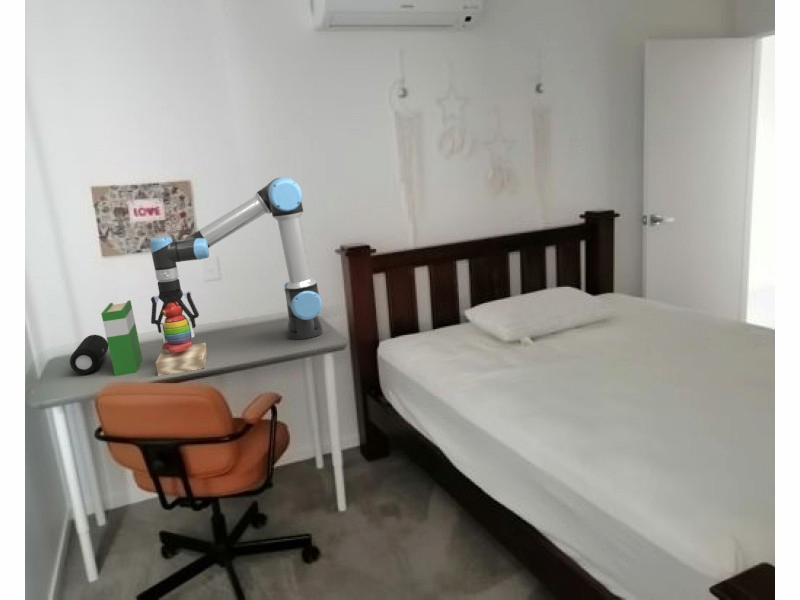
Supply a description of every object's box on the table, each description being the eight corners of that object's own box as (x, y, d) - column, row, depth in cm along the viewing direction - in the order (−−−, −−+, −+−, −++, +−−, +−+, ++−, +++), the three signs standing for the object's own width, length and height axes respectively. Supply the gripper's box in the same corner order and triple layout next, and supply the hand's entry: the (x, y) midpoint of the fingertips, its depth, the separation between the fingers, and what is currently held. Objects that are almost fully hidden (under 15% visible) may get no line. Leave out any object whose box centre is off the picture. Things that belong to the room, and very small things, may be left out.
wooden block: (207, 354, 236) (205, 342, 234) (204, 368, 219) (201, 355, 218) (164, 361, 232) (162, 349, 231) (158, 375, 216) (155, 362, 215)
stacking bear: (160, 348, 225) (152, 302, 221) (186, 341, 231) (178, 296, 227) (171, 354, 217) (163, 306, 213) (198, 346, 223) (190, 300, 219)
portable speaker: (100, 373, 225) (94, 348, 223) (71, 378, 223) (65, 353, 220) (111, 354, 249) (106, 331, 247) (85, 358, 247) (80, 335, 244)
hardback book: (122, 361, 237) (110, 303, 231) (142, 358, 239) (130, 300, 233) (114, 376, 220) (101, 313, 215) (136, 372, 222) (123, 310, 217)
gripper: (134, 285, 212) (146, 346, 218) (198, 277, 217) (208, 336, 222) (137, 281, 219) (149, 340, 225) (200, 274, 224) (210, 331, 229)
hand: (179, 338), depth 223 cm, fingers closed on stacking bear, 9 cm apart
